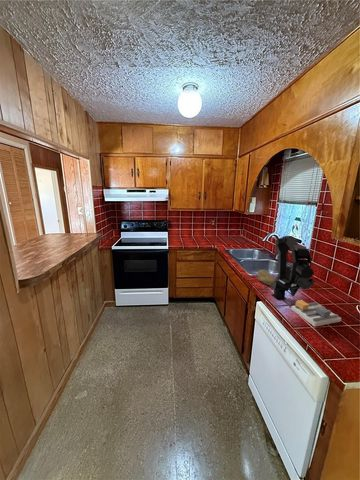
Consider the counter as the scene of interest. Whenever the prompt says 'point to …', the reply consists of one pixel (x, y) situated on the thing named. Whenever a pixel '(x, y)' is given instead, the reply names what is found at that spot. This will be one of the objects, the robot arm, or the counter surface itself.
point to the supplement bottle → (288, 271)
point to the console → (316, 315)
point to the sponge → (266, 277)
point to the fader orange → (302, 305)
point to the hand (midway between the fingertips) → (292, 295)
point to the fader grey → (322, 311)
